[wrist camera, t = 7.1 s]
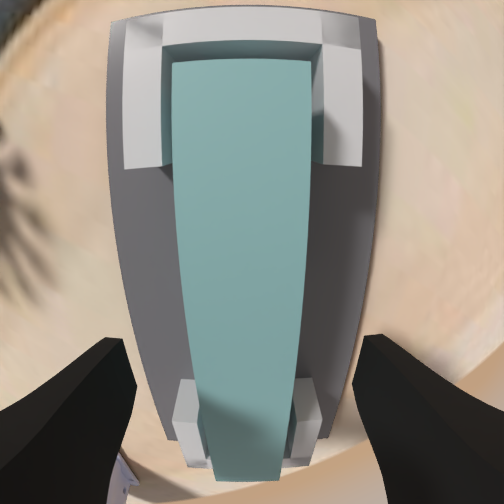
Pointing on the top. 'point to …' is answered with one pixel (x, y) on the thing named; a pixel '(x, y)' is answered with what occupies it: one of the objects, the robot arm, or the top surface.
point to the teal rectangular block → (243, 248)
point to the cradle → (320, 204)
